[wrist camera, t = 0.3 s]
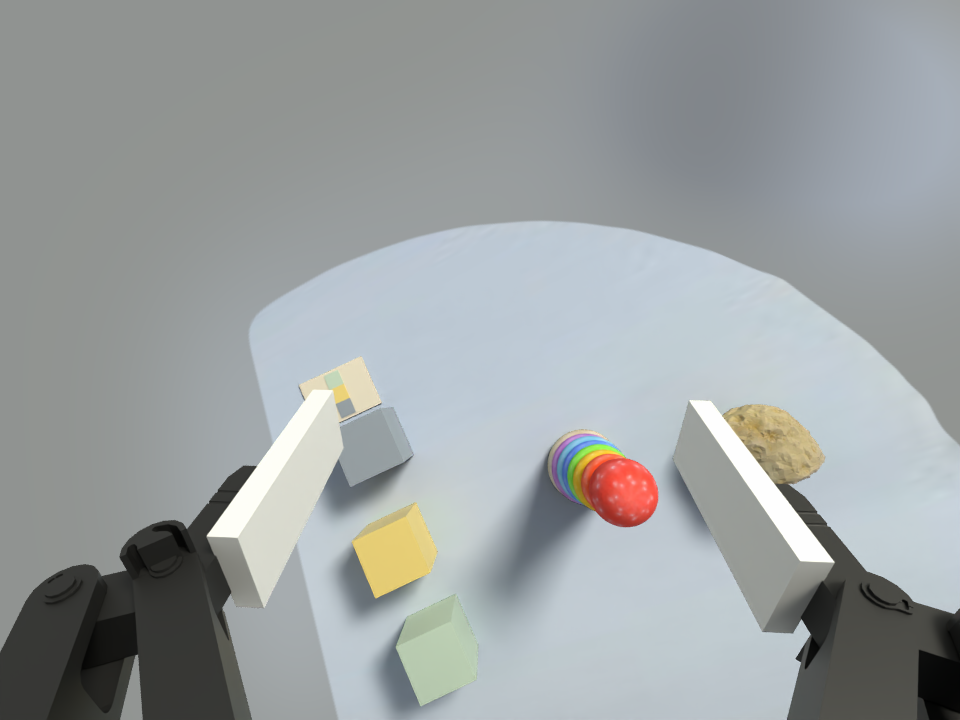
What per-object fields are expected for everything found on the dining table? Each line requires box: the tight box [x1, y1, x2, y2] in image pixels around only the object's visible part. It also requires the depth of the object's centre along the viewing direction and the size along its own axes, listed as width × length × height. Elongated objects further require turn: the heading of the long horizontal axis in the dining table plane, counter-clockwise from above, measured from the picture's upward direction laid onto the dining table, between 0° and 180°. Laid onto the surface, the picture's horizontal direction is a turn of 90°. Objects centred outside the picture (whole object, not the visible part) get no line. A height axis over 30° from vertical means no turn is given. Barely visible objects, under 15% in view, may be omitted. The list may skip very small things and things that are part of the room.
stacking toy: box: [548, 429, 658, 527], centre depth 40 cm, size 8×8×19 cm
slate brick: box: [338, 407, 414, 487], centre depth 47 cm, size 6×6×6 cm
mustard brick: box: [352, 502, 438, 599], centre depth 46 cm, size 6×6×6 cm
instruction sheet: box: [299, 356, 382, 422], centre depth 50 cm, size 6×8×1 cm
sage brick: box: [396, 594, 478, 706], centre depth 45 cm, size 6×6×6 cm
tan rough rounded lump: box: [722, 405, 825, 485], centre depth 44 cm, size 10×10×10 cm
